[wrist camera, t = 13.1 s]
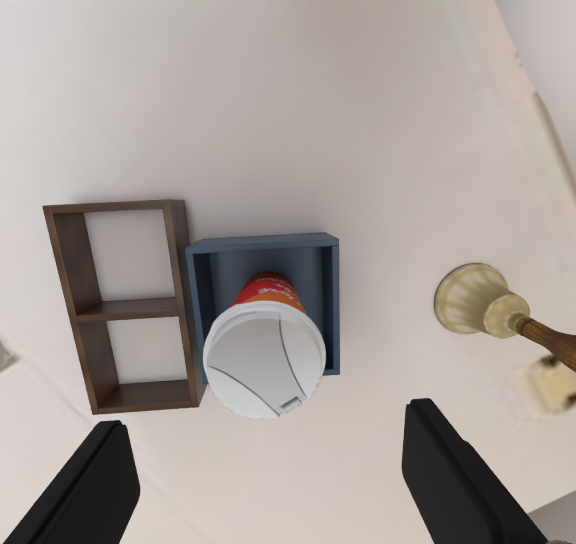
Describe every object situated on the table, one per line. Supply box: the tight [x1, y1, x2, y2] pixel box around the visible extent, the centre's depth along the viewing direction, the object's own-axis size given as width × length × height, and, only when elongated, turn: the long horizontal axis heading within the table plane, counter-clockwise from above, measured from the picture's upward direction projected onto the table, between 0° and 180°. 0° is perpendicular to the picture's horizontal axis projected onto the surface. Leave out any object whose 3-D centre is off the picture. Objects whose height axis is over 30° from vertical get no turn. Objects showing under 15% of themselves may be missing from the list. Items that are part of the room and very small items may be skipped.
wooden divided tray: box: [43, 199, 207, 415], centre depth 28 cm, size 20×11×4 cm, turn 3°
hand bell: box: [435, 263, 576, 372], centre depth 24 cm, size 8×8×16 cm
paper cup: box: [203, 271, 326, 419], centre depth 23 cm, size 8×8×14 cm
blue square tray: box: [185, 232, 340, 384], centre depth 28 cm, size 13×13×6 cm
